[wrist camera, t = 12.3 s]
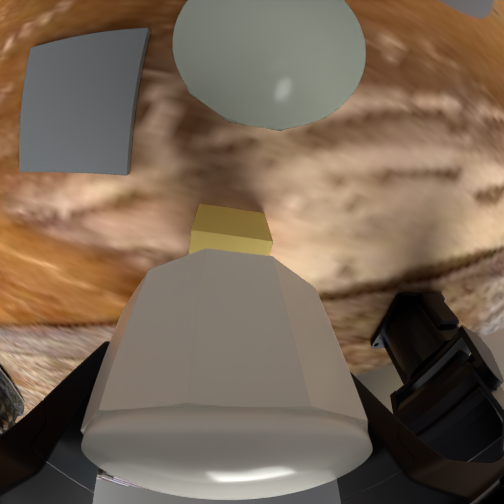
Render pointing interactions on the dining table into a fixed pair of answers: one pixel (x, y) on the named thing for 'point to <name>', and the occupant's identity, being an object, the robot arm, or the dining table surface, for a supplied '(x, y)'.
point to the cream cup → (225, 384)
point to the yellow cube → (230, 230)
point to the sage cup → (269, 58)
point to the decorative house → (9, 403)
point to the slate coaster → (82, 103)
